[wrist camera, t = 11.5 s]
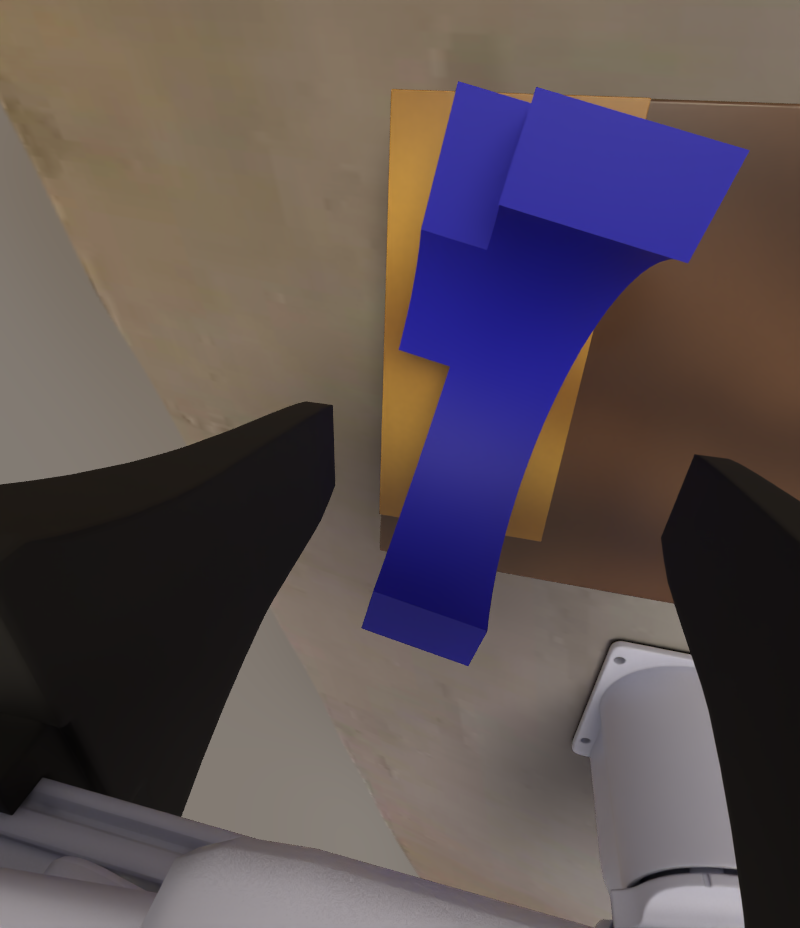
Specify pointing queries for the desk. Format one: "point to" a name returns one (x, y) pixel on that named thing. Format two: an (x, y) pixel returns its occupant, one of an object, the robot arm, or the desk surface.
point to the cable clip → (520, 318)
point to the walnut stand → (627, 358)
